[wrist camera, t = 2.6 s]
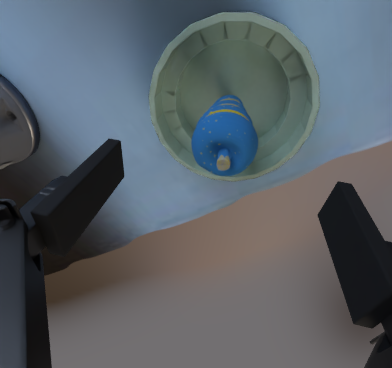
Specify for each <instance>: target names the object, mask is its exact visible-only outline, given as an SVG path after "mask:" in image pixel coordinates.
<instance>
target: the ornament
mask: <svg viewBox="0 0 392 368" xmlns="http://www.w3.org/2000/svg"><path fill="white" fill-rule="evenodd" d="M191 145H192V152H193V156H194V158H195V161H196V162H197V164H198V165H199V166H201V167H202V168H204V169H206V170H207V171H209V172H211V173H213V174H215V175H219V176H233V175H236V174H239V173H241V172H242V171H244V170H245V169H246V168H247V167H248V166H249V165H250V164H251V163H252V161H253V160H254V158H255V155H256V153H257V149H258V137H257V133H256V131H255V128H254V127H253V123H252V120H251V118H250V116H249V115H248V114H247V112H246V109H245V108H244V106H243V103H242V101H241V100H240V99H239V98H238V97H236V96H234V95H225V96H222V97H220V98H219V99H218V100H217V101H216V102H215V103H214V104H213V105H212V106H211V107H210V108H209V109H208V111H207V112H205V113H204V114H203V116H202V117H201V118H200V119H199V121H198V123H197V125H196V128H195V130H194V133H193V135H192V141H191Z"/></svg>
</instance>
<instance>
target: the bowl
mask: <svg viewBox="0 0 392 368" xmlns="http://www.w3.org/2000/svg"><path fill="white" fill-rule="evenodd" d="M225 95H234V96H236V97H238V98H239V99H240V100H241V101H242V103H243V106H244V108H245V109H246V112H247V114H248V115H249V116H250V118H251V120H252V123H253V127H254V128H255V131H256V133H257V137H258V149H257V153H256V155H255V158H254V160H253V161H252V163H251V164H250V165H249V166H248V167H247V168H246V169H245V170H244V171H242V172H241V173H239V174H236V175H233V176H219V175H215V174H213V173H211V172H209V171H207V170H206V169H204V168H202V167H201V166H199V165H198V164H197V162H196V161H195V158H194V156H193V152H192V145H191V141H192V135H193V133H194V130H195V128H196V125H197V123H198V121H199V119H200V118H201V117H202V116H203V114H204V113H205V112H207V111H208V109H209V108H210V107H211V106H212V105H213V104H214V103H215V102H216V101H217V100H218V99H219V98H220V97H222V96H225ZM149 105H150V113H151V121H152V124H153V126H154V128H155V130H156V133H157V135H158V137H159V140H160V142H161V143H162V145H163V146H164V147H165V148H166V150H167V151H168V152H169V153H170V154H171V156H172V157H173V158H174V159H175V160H176V161H177V162H179V163H180V164H182V165H183V166H184V167H186V168H187V169H189V170H190V171H192V172H194V173H196V174H199V175H202V176H204V177H207V178H210V179H214V180H223V181H241V180H247V179H254V178H257V177H260V176H262V175H264V174H267V173H269V172H271V171H274V170H276V169H278V168H279V167H280V166H281V165H283V164H284V163H285V162H286V161H288V160H289V159H290V158H291V157H293V156H294V155H295V154H296V153H297V152H298V150H299V149H300V147H301V146H302V145H303V143H304V142H305V140H306V139H307V138H308V136H309V135H310V133H311V131H312V128H313V125H314V122H315V119H316V116H317V113H318V110H319V106H320V97H319V76H318V73H317V71H316V68H315V66H314V63H313V61H312V58H311V56H310V53H309V51H308V49H307V47H306V46H305V45H304V44H303V43H302V42H301V41H300V40H299V39H298V38H297V37H296V36H295V35H294V34H293V33H292V32H291V31H290V30H289V29H288V28H287V27H286V26H285V25H283V24H281V23H279V22H277V21H275V20H272V19H270V18H268V17H265V16H263V15H260V14H258V13H256V12H252V11H226V12H221V13H218V14H215V15H213V16H210V17H208V18H205V19H203V20H200V21H197V22H195V23H192V24H191V25H189V26H188V27H187V28H186V29H185V30H184V31H182V32H181V33H180V34H179V35H178V36H177V37H176V38H175V39H174V40H172V41H171V42H170V43H169V44H168V45H167V47H166V48H165V50H164V52H163V54H162V56H161V58H160V59H159V61H158V63H157V65H156V67H155V68H154V71H153V76H152V81H151V86H150V92H149Z"/></svg>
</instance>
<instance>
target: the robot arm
mask: <svg viewBox="0 0 392 368" xmlns="http://www.w3.org/2000/svg"><path fill="white" fill-rule="evenodd" d="M39 141H40V133H39V127H38V124H37V121H36V118H35V116H34V114H33V112H32V110H31V108H30V106H29V105H28V103H27V102H26V100H25V99H24V98H23V96H22V95H21V94H20V93H19V91H18V90H17V89H16V88H15V87H14V86H13V85H12V84H11V83H10V82H9V81H8V80H7V79H6V78H5V77H3V76H2V75H1V74H0V169H3V168H5V167H6V166H8V165H11V164H15V163H18V162H21V161H23V160H25V159H26V158H28V157H29V156H30V155H32V154H33V153H34V152H35V151H36V150H37V148H38V145H39ZM123 178H124V168H123V158H122V149H121V141H119V140H114V139H108V140H107V141H106V142H105V143H104V144H103V145H101V146H100V147H99V148H98V149H97V150H96V151H95V152H94V153H93V154H92V155H91V156H90V157H89V158H87V159H86V160H85V161H84V162H83V163H82V164H81V165H80V166H79V167H78V168H77V169H76V170H75V171H73V172H72V173H71V174H70V175H69V176H68V177H66V176H60V177H58V178H56V179H54V180H52V181H51V182H50V183H49V184H48V185H46V186H45V188H43V189H42V190H41V191H40V192H39V193H38V194H36V195H35V196H34V197H33V198H32V199H30V200H29V201H28V202H27V203H26V204H25V205H24V206H22V207H21V208H20V209H18V207H17V205H16V203H15V201H13V200H11V199H0V368H52V366H51V354H50V342H49V330H48V319H47V306H46V294H45V283H44V271H43V259H42V254H41V251H42V250H43V249H44V247H45V246H46V247H47V249H48V251H49V253H50V254H55V255H59V256H63V257H65V256H66V254H67V253H68V252H69V250H70V249H71V248H72V246H73V245H74V244H75V242H76V241H77V240H78V238H79V237H80V236H81V234H82V233H83V232H84V230H85V229H86V228H87V226H88V225H89V223H90V222H91V221H92V219H93V218H94V217H95V215H96V214H97V213H98V211H99V210H100V209H101V207H102V206H103V205H104V203H105V202H106V201H107V199H108V198H109V197H110V195H111V194H112V192H113V191H114V190H115V188H116V187H117V186H118V184H119V183H120V182H121V180H122V179H123ZM318 218H319V221H320V224H321V227H322V230H323V233H324V236H325V239H326V242H327V245H328V248H329V251H330V254H331V257H332V260H333V263H334V266H335V269H336V272H337V275H338V278H339V281H340V284H341V288H342V290H343V293H344V296H345V299H346V303H347V306H348V309H349V312H350V315H351V318H352V321H353V324H356V325H360V326H364V327H368V328H374V327H375V326H376V325H378V324H379V323H382V325H383V328H384V330H385V332H383V333H381V334H380V335H378V336H377V337H375V338H374V339H372V340H371V341H370V343H371V344H374V343H375V342H376V345H375V347H374V349H373V351H372V353H371V355H370V357H369V359H368V361H367V363H366V365H365V367H364V368H392V242H388V241H385V240H384V239H383V237H382V235H381V233H380V232H379V230H378V228H377V227H376V225H375V223H374V221H373V220H372V218H371V216H370V215H369V213H368V211H367V209H366V208H365V206H364V205H363V203H362V201H361V199H360V197H359V196H358V194H357V192H356V191H355V189H354V187H353V186H352V184H349V183H344V182H337V184H336V185H335V187H334V189H333V190H332V192H331V194H330V196H329V197H328V199H327V200H326V202H325V204H324V205H323V207H322V209H321V210H320V212H319V213H318Z"/></svg>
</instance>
